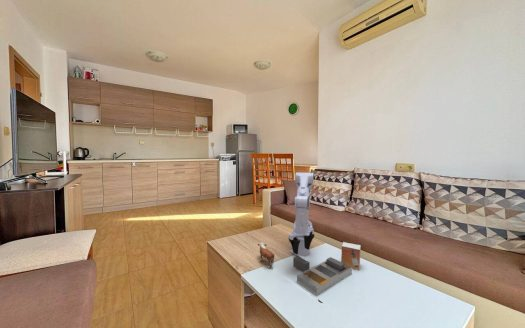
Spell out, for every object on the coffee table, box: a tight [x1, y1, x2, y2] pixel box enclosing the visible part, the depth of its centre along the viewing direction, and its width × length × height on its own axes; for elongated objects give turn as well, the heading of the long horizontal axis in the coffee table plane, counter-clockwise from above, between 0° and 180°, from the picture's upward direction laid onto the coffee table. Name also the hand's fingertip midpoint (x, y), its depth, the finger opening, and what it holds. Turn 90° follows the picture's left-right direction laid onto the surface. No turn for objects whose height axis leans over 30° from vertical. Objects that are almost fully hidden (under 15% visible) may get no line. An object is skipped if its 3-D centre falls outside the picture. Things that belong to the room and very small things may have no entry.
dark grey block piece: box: [292, 255, 310, 273], centre depth 96 cm, size 7×3×5 cm, turn 37°
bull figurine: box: [257, 242, 275, 269], centre depth 102 cm, size 4×13×8 cm, turn 25°
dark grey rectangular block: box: [325, 257, 344, 272], centre depth 93 cm, size 7×3×5 cm, turn 37°
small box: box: [340, 241, 362, 271], centre depth 99 cm, size 8×6×10 cm
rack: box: [296, 257, 353, 297], centre depth 89 cm, size 10×24×4 cm, turn 127°
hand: (301, 251), depth 95 cm, fingers open, 7 cm apart
